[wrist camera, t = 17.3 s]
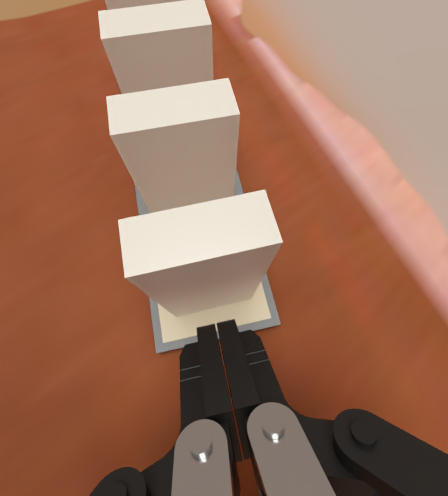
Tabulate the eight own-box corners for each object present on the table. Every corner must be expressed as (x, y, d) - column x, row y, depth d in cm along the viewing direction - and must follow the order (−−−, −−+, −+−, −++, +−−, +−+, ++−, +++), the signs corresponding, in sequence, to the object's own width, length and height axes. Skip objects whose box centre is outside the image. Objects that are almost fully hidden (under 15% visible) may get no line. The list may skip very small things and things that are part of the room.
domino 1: (215, 163, 22) (211, 24, 13) (153, 175, 22) (100, 39, 12) (210, 144, 23) (203, -3, 13) (150, 154, 22) (98, 11, 13)
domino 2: (231, 225, 20) (239, 114, 11) (163, 238, 20) (110, 135, 10) (225, 201, 21) (228, 78, 11) (159, 214, 20) (106, 96, 11)
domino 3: (251, 298, 18) (283, 242, 9) (176, 317, 18) (124, 278, 8) (243, 270, 19) (264, 189, 9) (170, 287, 18) (117, 219, 9)
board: (277, 325, 19) (281, 324, 18) (159, 353, 18) (156, 353, 17) (200, 49, 28) (199, 38, 27) (121, 60, 27) (117, 49, 26)
